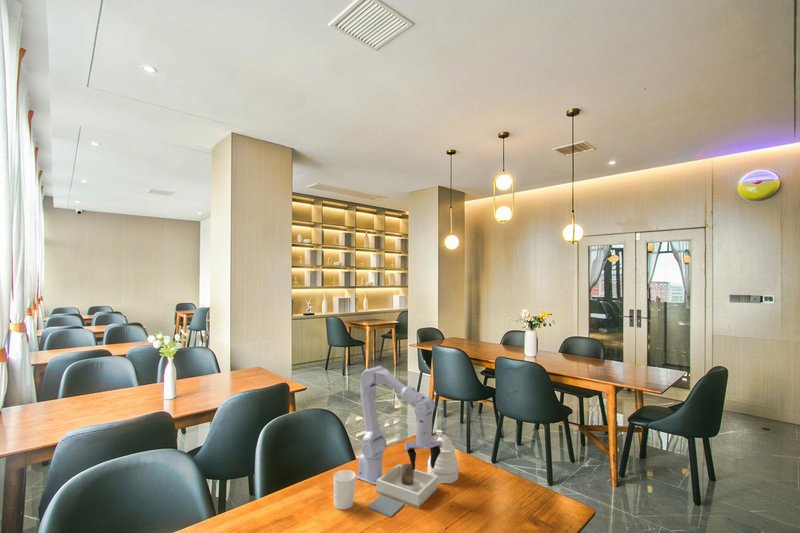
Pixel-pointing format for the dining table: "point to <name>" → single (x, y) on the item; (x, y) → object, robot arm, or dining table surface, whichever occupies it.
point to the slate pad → (385, 506)
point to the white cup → (344, 489)
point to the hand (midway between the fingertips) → (422, 467)
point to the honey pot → (445, 461)
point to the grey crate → (407, 486)
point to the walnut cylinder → (407, 474)
